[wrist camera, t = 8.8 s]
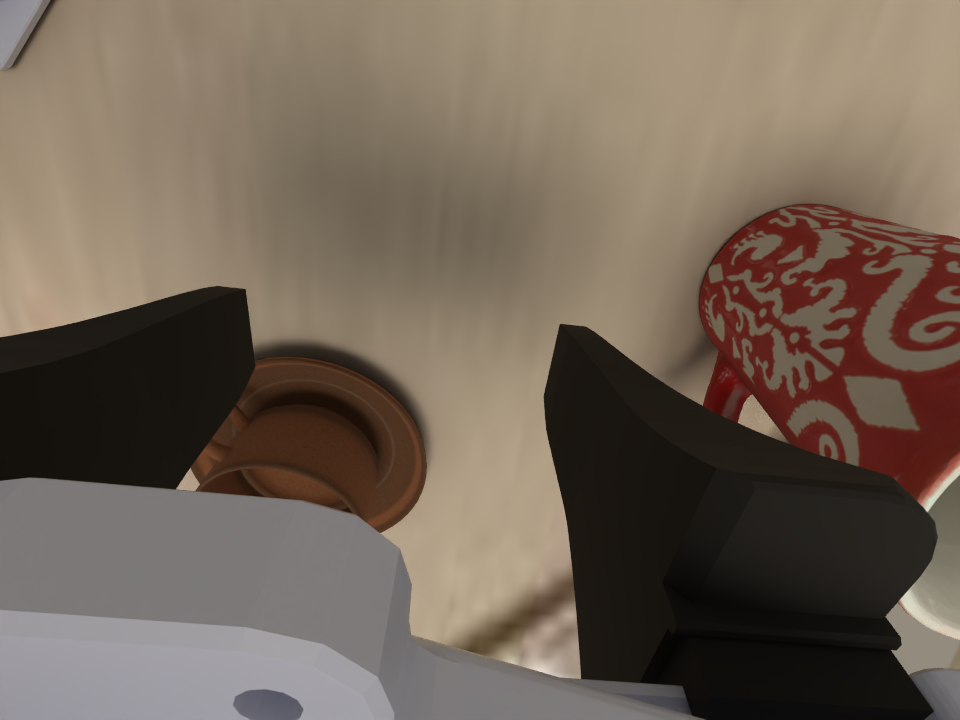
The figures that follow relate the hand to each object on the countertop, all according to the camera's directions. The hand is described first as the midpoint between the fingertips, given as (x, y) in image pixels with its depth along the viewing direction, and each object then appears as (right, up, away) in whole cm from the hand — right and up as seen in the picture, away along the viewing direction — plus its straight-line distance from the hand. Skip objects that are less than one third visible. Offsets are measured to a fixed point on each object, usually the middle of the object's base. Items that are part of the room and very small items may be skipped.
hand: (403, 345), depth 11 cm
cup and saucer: (-7, -5, +15) cm, 17 cm away
